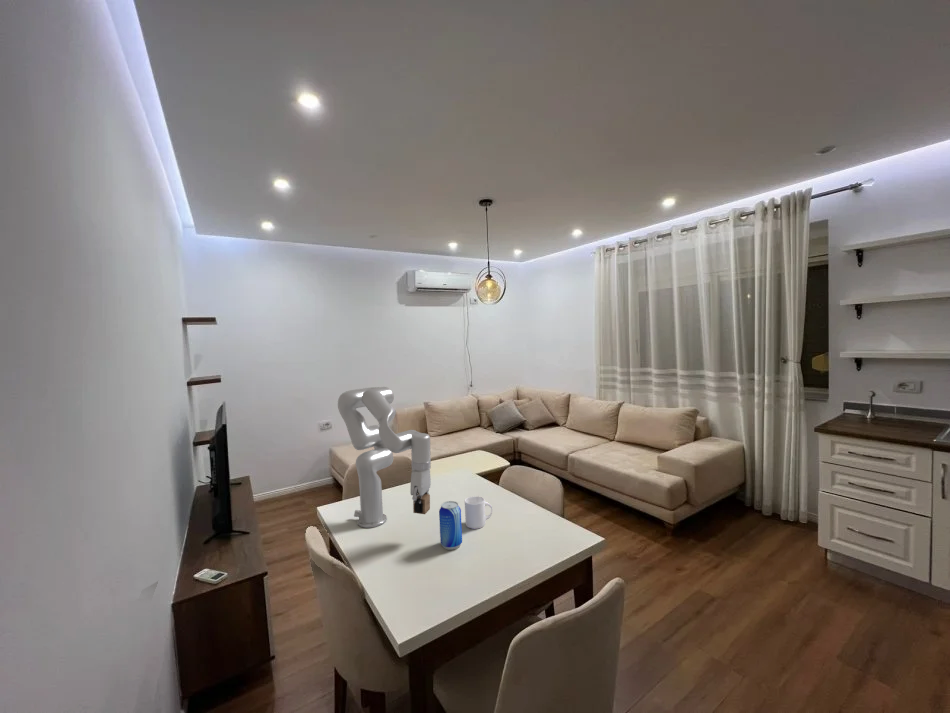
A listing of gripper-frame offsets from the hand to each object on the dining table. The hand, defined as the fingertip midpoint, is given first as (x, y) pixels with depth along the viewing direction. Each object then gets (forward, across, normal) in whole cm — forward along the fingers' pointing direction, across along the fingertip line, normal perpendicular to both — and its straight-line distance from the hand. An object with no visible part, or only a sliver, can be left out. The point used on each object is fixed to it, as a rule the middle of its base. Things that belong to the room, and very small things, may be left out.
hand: (421, 508), depth 155 cm
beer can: (+12, +2, +14) cm, 18 cm away
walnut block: (+1, 0, 0) cm, 1 cm away
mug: (+12, -16, +20) cm, 28 cm away
